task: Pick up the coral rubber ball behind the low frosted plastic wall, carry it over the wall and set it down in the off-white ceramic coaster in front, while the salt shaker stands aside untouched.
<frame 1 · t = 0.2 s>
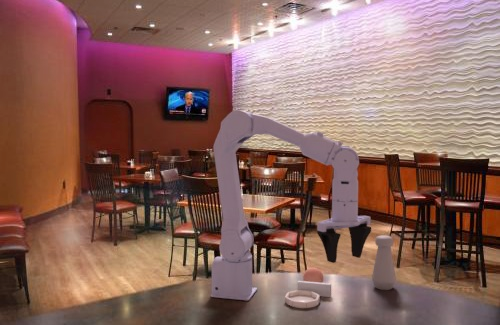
hand: (344, 259, 106), 10 cm above the table, tool pointing down, fingers open, 7 cm apart
wall: (314, 294, 111), on the table
ball: (313, 287, 116), on the table
salt shaker: (383, 288, 116), on the table
coaster: (302, 301, 107), on the table
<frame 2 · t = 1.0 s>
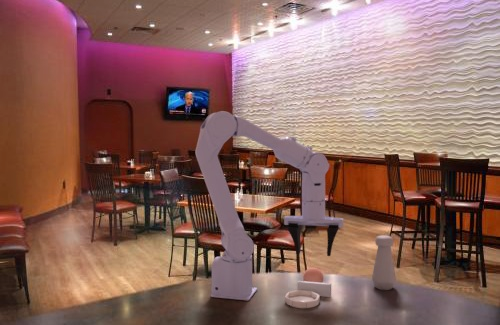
hand: (313, 254, 116), 9 cm above the table, tool pointing down, fingers open, 7 cm apart
nothing on the table moved.
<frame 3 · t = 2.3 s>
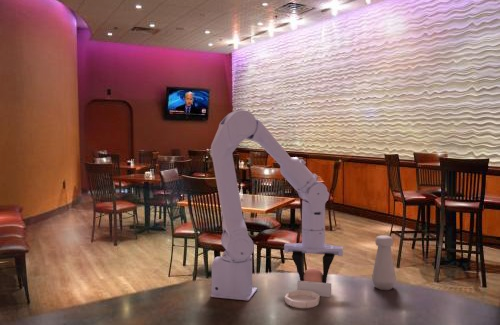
hand: (313, 281, 116), 1 cm above the table, tool pointing down, fingers closed on ball, 5 cm apart
ball: (313, 287, 116), on the table, touching gripper
everything else where it was.
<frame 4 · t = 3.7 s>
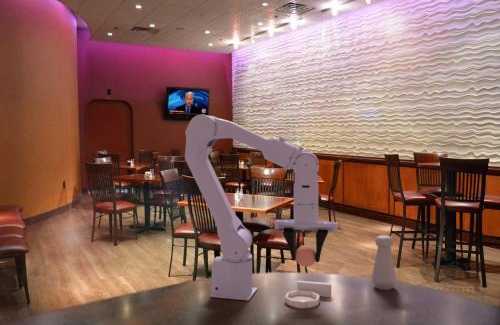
hand: (305, 260, 109), 9 cm above the table, tool pointing down, fingers closed on ball, 5 cm apart
ball: (306, 266, 109), point 7 cm above the table, touching gripper
everything else where it was.
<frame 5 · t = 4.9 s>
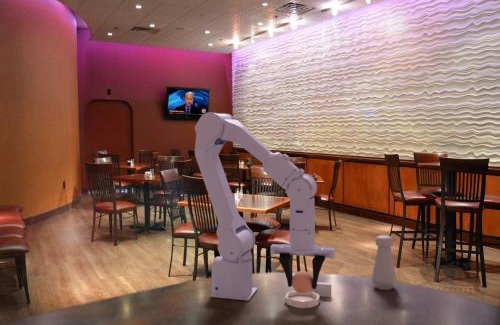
hand: (302, 286, 106), 4 cm above the table, tool pointing down, fingers closed on ball, 5 cm apart
ball: (302, 292, 107), point 2 cm above the table, touching gripper
everything else where it was.
when the fingers open (3 cm above the table, at t = 5.6 s): ball drops 1 cm, resting on coaster.
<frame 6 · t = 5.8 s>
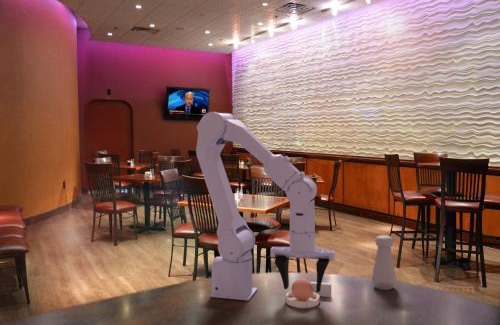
hand: (302, 289, 106), 3 cm above the table, tool pointing down, fingers open, 7 cm apart
ball: (302, 300, 107), resting on coaster
everything else where it was.
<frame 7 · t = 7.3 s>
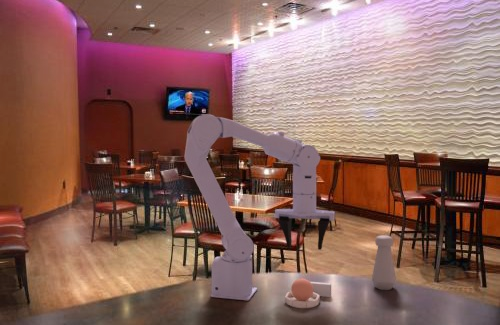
hand: (304, 247, 115), 10 cm above the table, tool pointing down, fingers open, 7 cm apart
nothing on the table moved.
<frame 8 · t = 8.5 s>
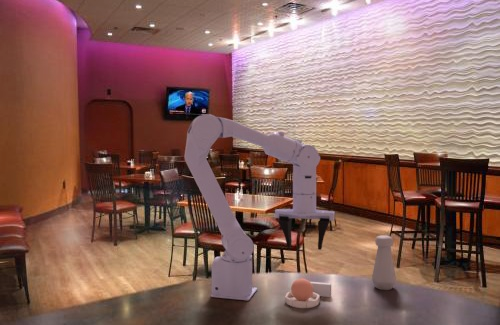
hand: (304, 247, 115), 10 cm above the table, tool pointing down, fingers open, 7 cm apart
nothing on the table moved.
at the end: ball 0.1 cm off-centre on the coaster, point 0.4 cm above the coaster's base; the gripper is holding nothing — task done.
